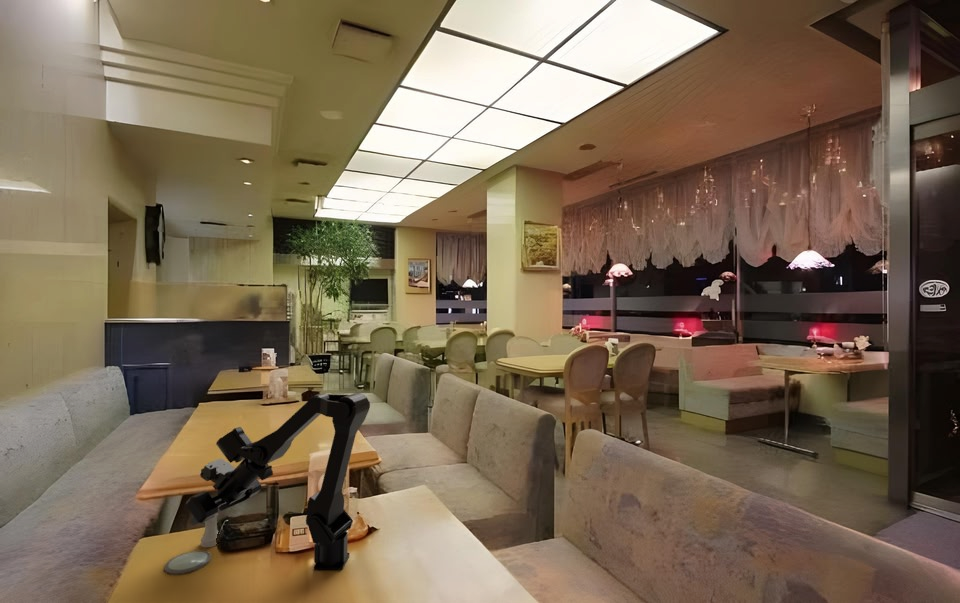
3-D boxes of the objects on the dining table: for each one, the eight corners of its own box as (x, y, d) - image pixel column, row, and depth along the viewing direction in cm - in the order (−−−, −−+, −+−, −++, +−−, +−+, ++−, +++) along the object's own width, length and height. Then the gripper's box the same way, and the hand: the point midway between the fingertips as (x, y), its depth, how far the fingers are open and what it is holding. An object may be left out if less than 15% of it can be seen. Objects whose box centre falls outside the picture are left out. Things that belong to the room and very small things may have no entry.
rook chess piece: (211, 549, 111) (211, 516, 112) (195, 547, 112) (196, 514, 113) (225, 540, 116) (225, 508, 116) (209, 538, 117) (210, 507, 117)
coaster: (218, 553, 110) (218, 550, 110) (196, 574, 101) (196, 571, 101) (180, 553, 110) (181, 550, 110) (154, 574, 101) (154, 571, 101)
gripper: (252, 440, 123) (218, 478, 125) (193, 462, 105) (154, 506, 107) (277, 472, 121) (241, 510, 123) (221, 501, 103) (180, 544, 105)
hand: (206, 516), depth 115 cm, fingers open, 8 cm apart
